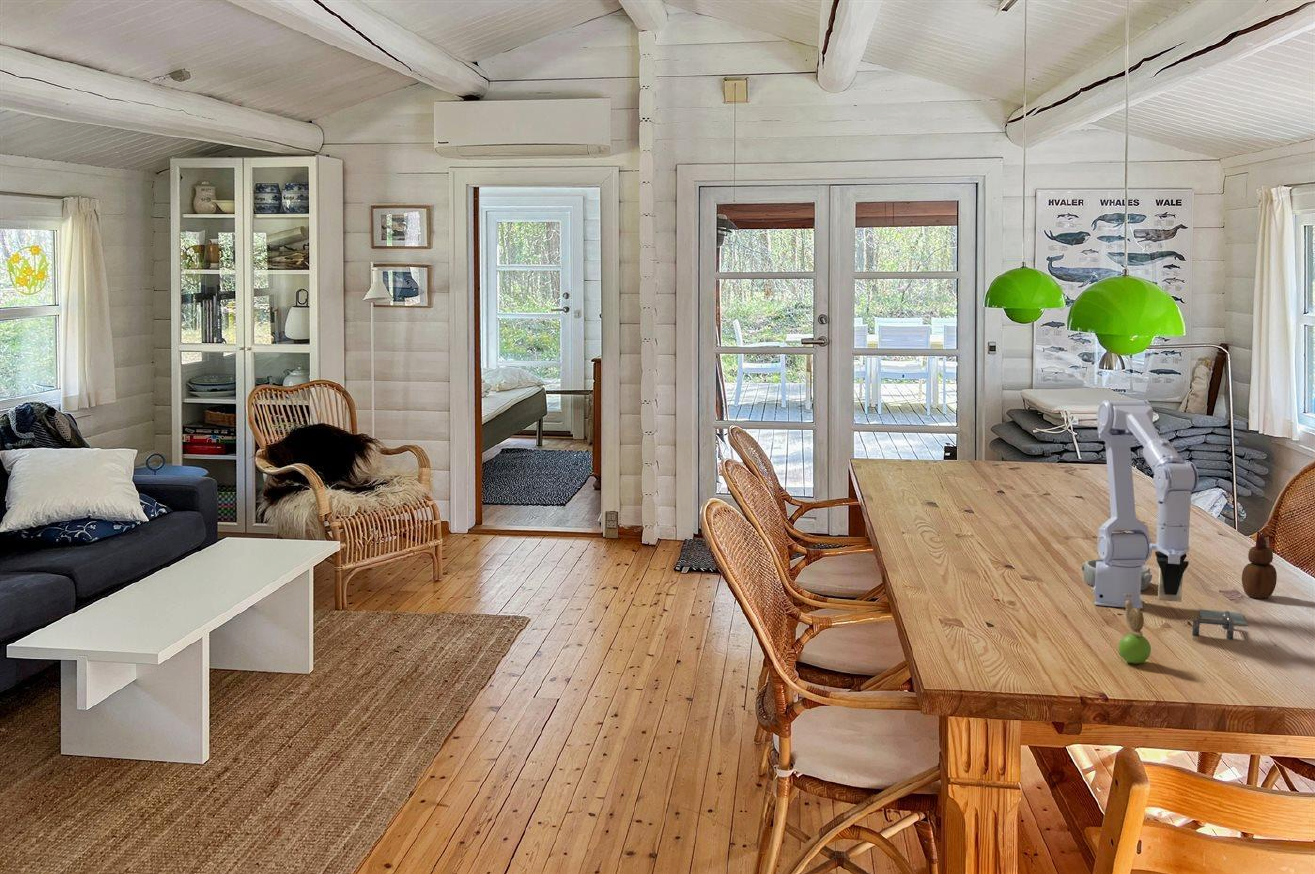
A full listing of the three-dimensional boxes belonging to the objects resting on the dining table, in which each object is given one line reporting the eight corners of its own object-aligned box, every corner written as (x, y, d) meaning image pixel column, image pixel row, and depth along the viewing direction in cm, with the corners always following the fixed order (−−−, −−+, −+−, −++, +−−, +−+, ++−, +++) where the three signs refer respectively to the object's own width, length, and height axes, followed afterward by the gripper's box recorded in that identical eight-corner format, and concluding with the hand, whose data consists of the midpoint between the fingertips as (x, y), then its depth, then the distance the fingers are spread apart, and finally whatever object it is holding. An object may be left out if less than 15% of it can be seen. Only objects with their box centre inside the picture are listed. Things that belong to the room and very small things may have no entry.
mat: (1202, 621, 226) (1202, 619, 226) (1198, 610, 233) (1199, 609, 233) (1246, 625, 223) (1246, 623, 223) (1241, 614, 230) (1241, 612, 230)
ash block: (1158, 600, 217) (1160, 570, 216) (1157, 594, 221) (1159, 565, 220) (1181, 601, 216) (1182, 571, 215) (1179, 596, 219) (1181, 567, 219)
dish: (1159, 593, 248) (1160, 571, 247) (1096, 593, 248) (1097, 572, 247) (1133, 576, 262) (1134, 556, 261) (1074, 577, 262) (1075, 556, 262)
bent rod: (1192, 635, 217) (1193, 617, 217) (1189, 623, 225) (1190, 606, 224) (1233, 639, 214) (1234, 621, 214) (1228, 627, 222) (1229, 609, 222)
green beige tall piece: (1139, 655, 206) (1142, 593, 204) (1155, 667, 199) (1158, 602, 198) (1110, 656, 206) (1113, 593, 204) (1125, 668, 199) (1128, 603, 198)
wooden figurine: (1255, 601, 240) (1260, 533, 238) (1235, 594, 245) (1239, 528, 243) (1281, 598, 241) (1285, 531, 239) (1260, 592, 247) (1264, 526, 245)
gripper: (1149, 515, 224) (1146, 580, 226) (1152, 529, 211) (1149, 598, 213) (1187, 517, 222) (1184, 583, 224) (1193, 532, 209) (1189, 602, 210)
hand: (1169, 591), depth 218 cm, fingers closed on ash block, 4 cm apart
